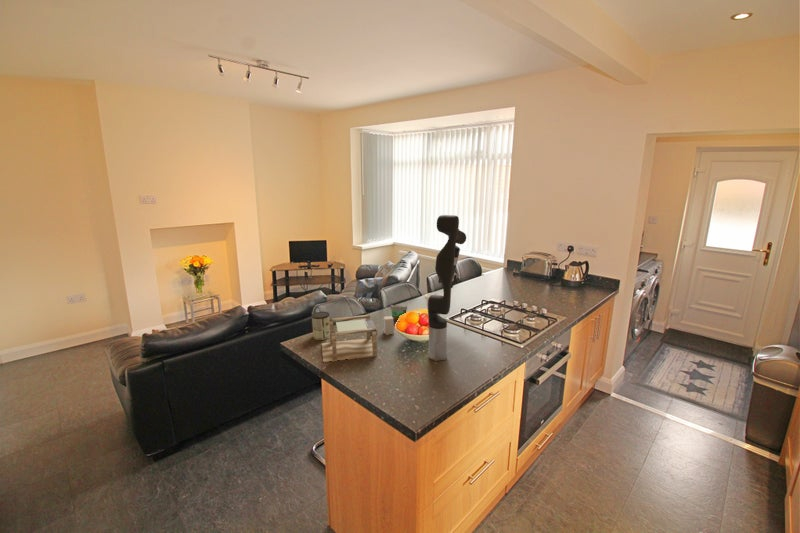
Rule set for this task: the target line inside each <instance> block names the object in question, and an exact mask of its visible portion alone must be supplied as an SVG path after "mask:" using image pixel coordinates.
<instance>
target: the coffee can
mask: <svg viewBox="0 0 800 533" xmlns="http://www.w3.org/2000/svg"><path fill="white" fill-rule="evenodd" d="M329 319H330V312H328V311H316V312H313V313H312V314H311V321H312V334H313V339H314V340H317V341H319V340H320V341H321V340H322V341H323V340H327V339H330V325H329Z"/></svg>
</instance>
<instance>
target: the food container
mask: <svg viewBox="0 0 800 533" xmlns="http://www.w3.org/2000/svg"><path fill="white" fill-rule="evenodd" d="M389 309H390V310H391V311H390V313H391V316H392V317H393V321H394V322H398V321H397V320H398V318H399V316H400V315H402V314H404V313H406V314H407V310H408V306H407V305H405V306H402V305H393V303H391V304H390V305H389Z"/></svg>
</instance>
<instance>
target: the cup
mask: <svg viewBox="0 0 800 533" xmlns="http://www.w3.org/2000/svg"><path fill="white" fill-rule="evenodd" d="M431 295H438V296H443V295H444V294H443V293H440V292H429V293H426V294H424V298H425V300H426V307H427V308H426V309H427V310H428V299H429V297H430V296H431ZM438 315H439V316H440V317H441V314H438Z"/></svg>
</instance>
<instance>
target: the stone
mask: <svg viewBox="0 0 800 533" xmlns="http://www.w3.org/2000/svg"><path fill="white" fill-rule="evenodd" d="M394 322H395V321H394V320H393V317H392V315H389V316H387V315H386V316H383V332H384V335H385V334H386V335H385V336H390V335H389V334H392V335H394V334H395V330H394V329H395V328H394V324H395V323H394Z"/></svg>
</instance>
